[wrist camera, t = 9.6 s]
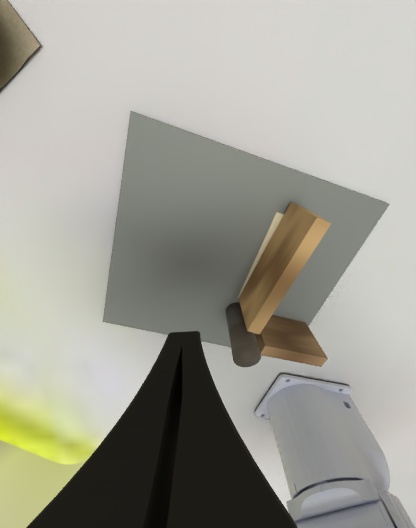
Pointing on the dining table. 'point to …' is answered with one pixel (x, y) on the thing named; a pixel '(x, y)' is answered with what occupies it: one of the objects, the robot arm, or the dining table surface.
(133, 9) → the dining table surface
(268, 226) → the card
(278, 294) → the fence panel
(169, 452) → the robot arm
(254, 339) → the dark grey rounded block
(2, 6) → the condiment
